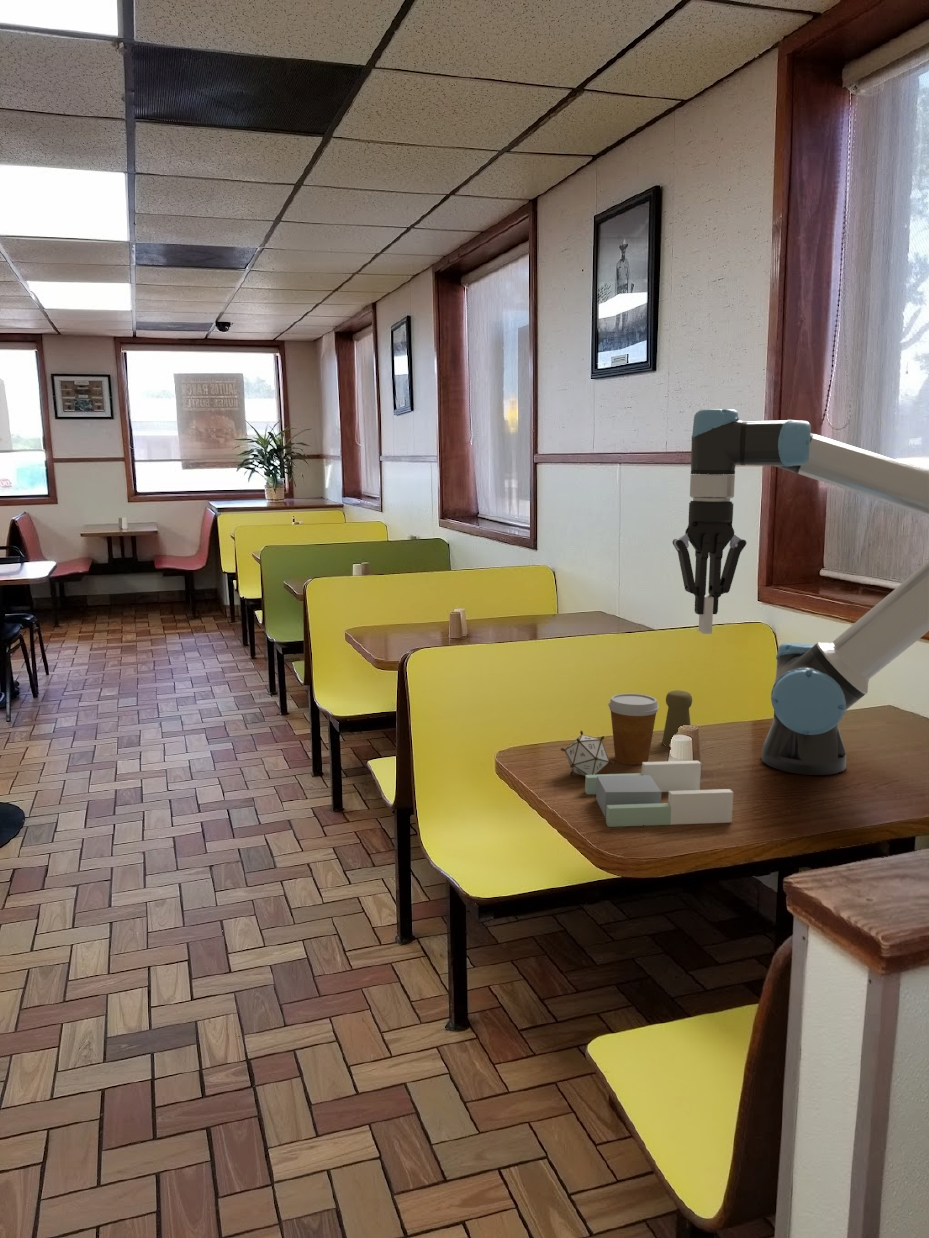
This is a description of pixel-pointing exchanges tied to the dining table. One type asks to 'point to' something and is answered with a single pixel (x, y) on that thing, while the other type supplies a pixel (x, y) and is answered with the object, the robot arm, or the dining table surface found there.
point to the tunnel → (671, 798)
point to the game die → (586, 755)
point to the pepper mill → (676, 713)
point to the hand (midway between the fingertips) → (705, 632)
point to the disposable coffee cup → (632, 726)
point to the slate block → (626, 790)
